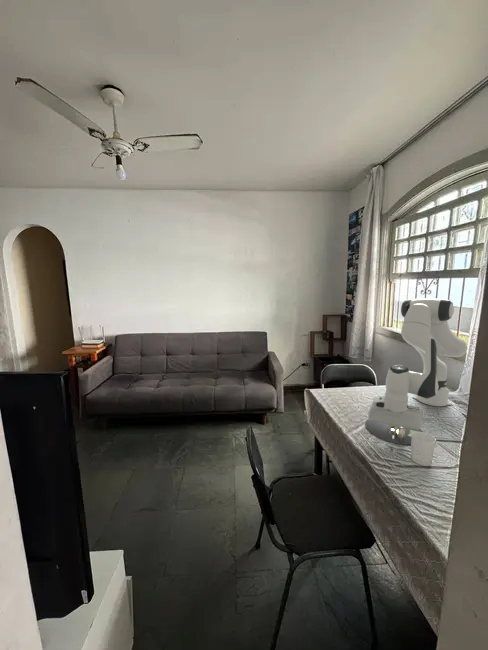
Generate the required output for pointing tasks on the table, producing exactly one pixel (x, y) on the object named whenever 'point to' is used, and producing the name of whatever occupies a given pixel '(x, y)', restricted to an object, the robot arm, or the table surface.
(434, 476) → the table surface
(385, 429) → the dial
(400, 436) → the needle
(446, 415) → the table surface
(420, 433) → the white cup
